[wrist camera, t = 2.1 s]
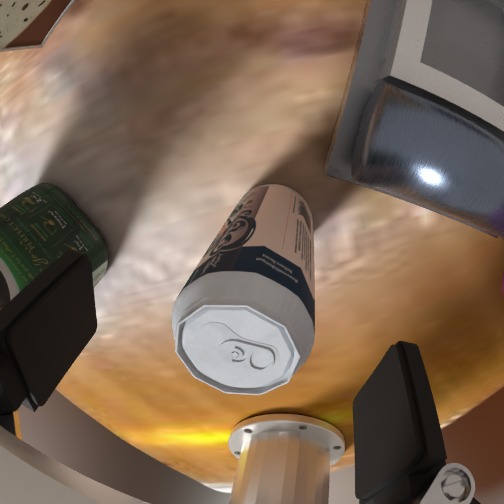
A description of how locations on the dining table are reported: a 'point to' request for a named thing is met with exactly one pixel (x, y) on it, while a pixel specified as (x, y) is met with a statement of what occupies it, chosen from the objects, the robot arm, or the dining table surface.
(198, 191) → the dining table surface
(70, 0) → the food container
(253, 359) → the beer can
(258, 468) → the robot arm
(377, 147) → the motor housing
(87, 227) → the coffee jar
